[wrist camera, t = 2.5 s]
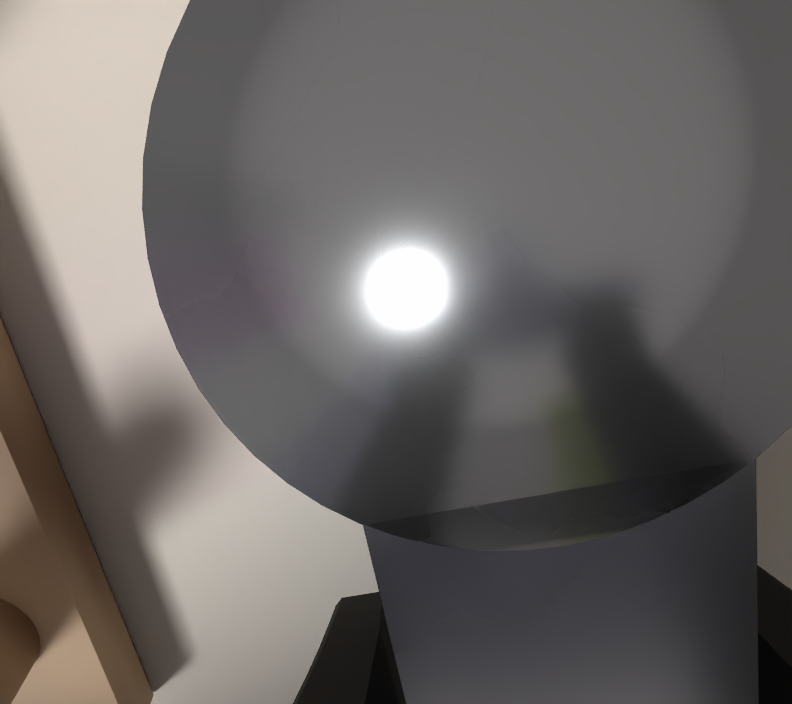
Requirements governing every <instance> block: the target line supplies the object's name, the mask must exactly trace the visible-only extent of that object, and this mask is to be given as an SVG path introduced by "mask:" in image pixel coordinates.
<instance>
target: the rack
mask: <svg viewBox="0 0 792 704" xmlns="http://www.w3.org/2000/svg"><path fill="white" fill-rule="evenodd" d="M152 697H153V693H152V690H151V688H150V685H149V683H148V680H147V678H146V675H145V673H144V671H143V668H142V666H141V663H140V661H139V658H138V656H137V653H136V651H135V648H134V646H133V643H132V641H131V638H130V636H129V633H128V631H127V629H126V626H125V624H124V621H123V619H122V616H121V614H120V611H119V609H118V606H117V604H116V601H115V599H114V596H113V594H112V592H111V589H110V587H109V584H108V582H107V579H106V577H105V574H104V572H103V569H102V567H101V564H100V562H99V559H98V557H97V554H96V552H95V550H94V547H93V545H92V542H91V540H90V537H89V535H88V532H87V530H86V527H85V525H84V522H83V520H82V517H81V515H80V512H79V510H78V508H77V505H76V503H75V500H74V498H73V495H72V493H71V490H70V488H69V485H68V483H67V480H66V478H65V475H64V473H63V471H62V468H61V466H60V463H59V461H58V458H57V456H56V453H55V451H54V448H53V446H52V443H51V441H50V438H49V436H48V433H47V431H46V429H45V426H44V424H43V421H42V419H41V416H40V414H39V411H38V409H37V406H36V404H35V401H34V399H33V396H32V394H31V391H30V389H29V387H28V384H27V382H26V379H25V377H24V374H23V372H22V369H21V367H20V364H19V362H18V359H17V357H16V354H15V352H14V350H13V347H12V345H11V342H10V340H9V337H8V335H7V332H6V330H5V327H4V325H3V322H2V320H1V317H0V704H150V703H151V700H152Z"/></svg>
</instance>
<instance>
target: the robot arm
mask: <svg viewBox="0 0 792 704" xmlns="http://www.w3.org/2000/svg"><path fill="white" fill-rule="evenodd" d="M757 605H758V700H759V704H792V590H791V589H789V588H788V587H787V586H785V585H784V584H783V583H781V582H780V581H778V580H777V579H776V578H774V577H773V576H772V575H770V574H769V573H767V572H766V571H765V570H763V569H762V568H761V567H759V566H758V565H757ZM293 704H406V701H405V697H404V692H403V688H402V684H401V680H400V676H399V672H398V668H397V663H396V659H395V655H394V651H393V647H392V643H391V639H390V634H389V630H388V626H387V622H386V618H385V614H384V610H383V605H382V601H381V597H380V593H379V592H376V593H369V594H363V595H357V596H351V597H345V598H342V599H341V600H340V601H339V602H338V604H337V605H336V607H335V609H334V612H333V615H332V618H331V620H330V623H329V625H328V628H327V630H326V633H325V635H324V638H323V640H322V642H321V645H320V647H319V649H318V652H317V654H316V656H315V658H314V661H313V663H312V665H311V667H310V669H309V672H308V674H307V676H306V678H305V680H304V682H303V684H302V686H301V688H300V690H299V692H298V694H297V697H296V699H295V701H294V703H293Z"/></svg>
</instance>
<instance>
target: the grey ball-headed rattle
mask: <svg viewBox="0 0 792 704" xmlns="http://www.w3.org/2000/svg"><path fill="white" fill-rule="evenodd" d="M142 211H143V219H144V228H145V237H146V246H147V255H148V261H149V265H150V269H151V273H152V277H153V281H154V285H155V289H156V293H157V297H158V301H159V305H160V308H161V310H162V313H163V315H164V318H165V320H166V323H167V325H168V328H169V330H170V333H171V336H172V338H173V341H174V343H175V346H176V348H177V350H178V352H179V354H180V356H181V357H182V359H183V361H184V363H185V365H186V367H187V368H188V370H189V372H190V374H191V376H192V377H193V379H194V381H195V383H196V385H197V387H198V388H199V390H200V391H201V392H202V394H203V395H204V397H205V398H206V399H207V401H208V402H209V403H210V405H211V406H212V408H213V409H214V410H215V412H216V413H217V414H218V416H219V417H220V419H221V420H222V421H223V423H224V424H225V425H226V426H227V427H228V428H229V429H230V430H231V431H232V433H233V434H234V435H235V436H236V437H237V438H238V439H239V440H240V441H241V442H242V443H243V444H244V445H245V446H246V447H247V448H248V450H249V451H250V452H251V453H252V454H253V455H254V456H255V457H257V458H258V459H259V460H260V461H261V462H263V463H264V464H265V465H266V466H267V467H269V468H270V469H271V470H272V471H273V472H275V473H276V474H277V475H278V476H279V477H281V478H282V479H283V480H284V481H286V482H287V483H288V484H290V485H291V486H293V487H294V488H296V489H298V490H299V491H301V492H302V493H304V494H305V495H307V496H308V497H310V498H312V499H313V500H315V501H316V502H318V503H319V504H321V505H323V506H325V507H327V508H329V509H331V510H333V511H335V512H337V513H339V514H341V515H343V516H345V517H347V518H349V519H351V520H353V521H356V522H358V523H360V524H362V525H363V527H364V531H365V535H366V539H367V543H368V547H369V551H370V556H371V560H372V564H373V568H374V572H375V576H376V581H377V585H378V589H379V593H380V597H381V601H382V605H383V610H384V614H385V618H386V622H387V626H388V630H389V634H390V639H391V643H392V647H393V651H394V655H395V659H396V663H397V668H398V672H399V676H400V680H401V684H402V688H403V692H404V697H405V701H406V704H759V700H758V605H757V511H756V457H758V456H759V455H760V454H761V453H762V452H763V451H765V450H766V449H767V448H768V447H769V446H770V445H771V444H772V443H773V442H774V441H775V440H776V439H777V438H779V437H780V436H781V435H782V434H783V433H784V432H785V431H786V430H787V429H788V428H789V427H790V426H791V425H792V0H190V2H189V4H188V6H187V9H186V11H185V13H184V15H183V17H182V20H181V22H180V24H179V26H178V29H177V31H176V33H175V35H174V38H173V40H172V42H171V44H170V46H169V49H168V51H167V54H166V57H165V60H164V64H163V67H162V71H161V74H160V77H159V81H158V84H157V88H156V91H155V94H154V98H153V101H152V105H151V111H150V117H149V124H148V130H147V137H146V143H145V150H144V156H143V199H142Z"/></svg>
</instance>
